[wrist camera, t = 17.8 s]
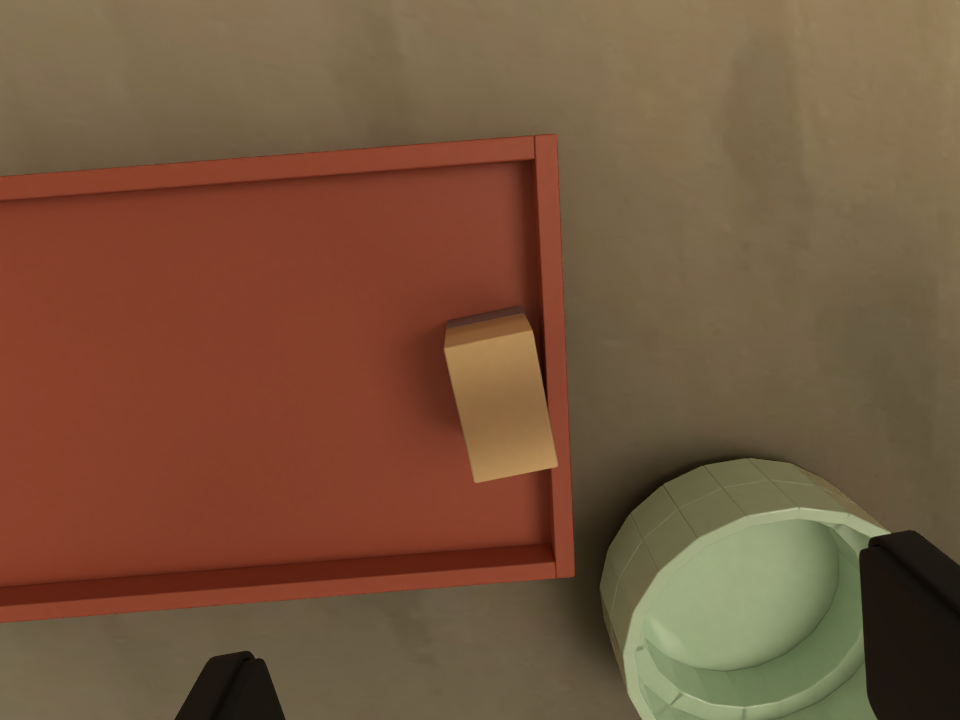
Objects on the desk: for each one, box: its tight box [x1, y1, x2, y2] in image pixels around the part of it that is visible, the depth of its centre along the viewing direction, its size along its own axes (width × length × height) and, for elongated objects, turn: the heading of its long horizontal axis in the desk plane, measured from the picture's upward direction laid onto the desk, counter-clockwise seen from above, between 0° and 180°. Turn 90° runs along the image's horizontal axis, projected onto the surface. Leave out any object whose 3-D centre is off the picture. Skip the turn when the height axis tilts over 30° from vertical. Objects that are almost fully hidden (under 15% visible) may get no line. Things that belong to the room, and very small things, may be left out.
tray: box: [0, 134, 575, 623], centre depth 26 cm, size 34×18×2 cm, turn 94°
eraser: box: [444, 305, 558, 483], centre depth 24 cm, size 5×3×4 cm, turn 12°
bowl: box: [600, 458, 891, 720], centre depth 27 cm, size 12×12×5 cm
